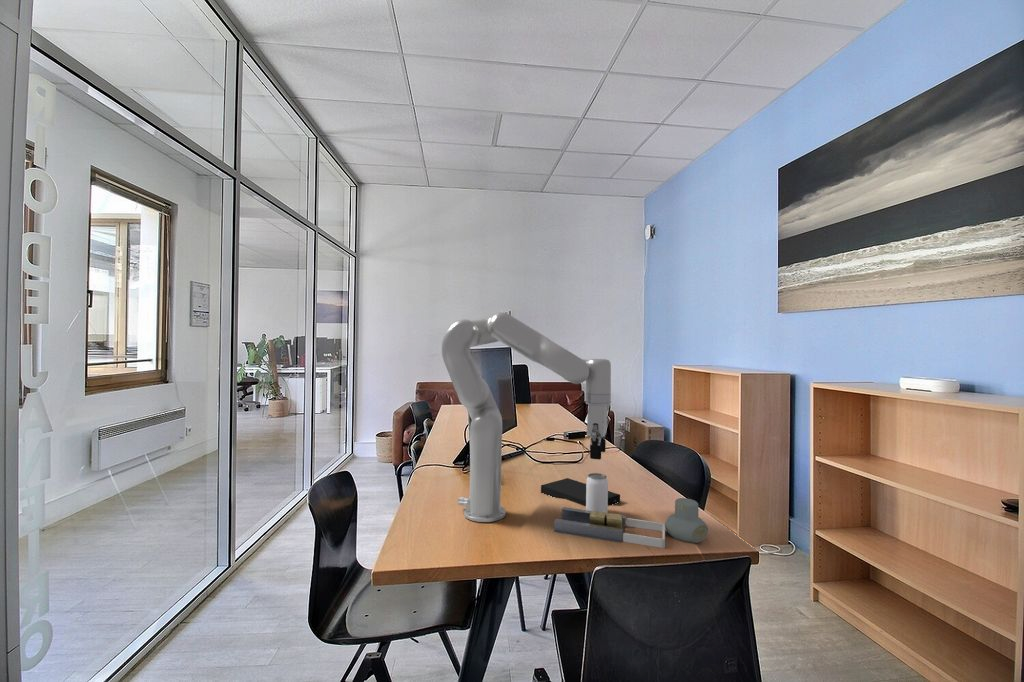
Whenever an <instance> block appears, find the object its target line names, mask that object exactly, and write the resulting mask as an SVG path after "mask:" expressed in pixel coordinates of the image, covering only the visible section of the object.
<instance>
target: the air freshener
mask: <svg viewBox="0 0 1024 682" xmlns="http://www.w3.org/2000/svg"><path fill="white" fill-rule="evenodd" d="M664 523H665V531H667V534H668V535H670V536H671V537H672V538H674V539H676V540H679V541H682V542H688V543H693V544H698V543H701V542H702V541H704V540H705V539H706V538H707V536H708V535H709V527H708V524H707V523H706V522H705V521H704V520H703V518H701V517H700V516H699V503H698V502H697V501H696V500H694V499H691V498H686V497H682V498H681V497H680V498H679V497H678V498H676V499H675V501H674V514H671V515H669V516H668V517H667V518H666V520H665V522H664Z"/></svg>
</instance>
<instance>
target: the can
mask: <svg viewBox="0 0 1024 682" xmlns="http://www.w3.org/2000/svg"><path fill="white" fill-rule="evenodd" d="M585 484H586V506H585V510H588V511H598V512H605V513H609V511H608V507H609V505H608V491H609V481H608V478H607V475H605V474H604V473H603V474H602V473H598V472H597V473H596V472H593V473H589V474H588V475H587V478H586V483H585Z"/></svg>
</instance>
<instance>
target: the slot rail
mask: <svg viewBox="0 0 1024 682" xmlns="http://www.w3.org/2000/svg"><path fill="white" fill-rule="evenodd" d="M562 507H563V506H562ZM591 512H592V511H588V510H586V509H579V508H573V507H565V506H564V507H563V508H562V509H561V518H560V519H559V518H555V519H554V521H553V522H554V523H553V532H554V533H558V534H564V535H565V534H566V535H570V536H571V535H572V536H576V537H582V538H583V537H584V538H589V539H595V540H602V541H608V542H614V543H619V544H622V543H623V533H625V530H626V526H627V517H626V516H627V515H622V514H621V517H622V529H621V528H614V527H608V526H601V525H594V524H590V514H591Z"/></svg>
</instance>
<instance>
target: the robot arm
mask: <svg viewBox="0 0 1024 682" xmlns="http://www.w3.org/2000/svg"><path fill="white" fill-rule="evenodd" d="M498 342H501V343H502V344H504V345H505V346H507V347H509V348H510V349H512V350H514V351H516V352H517V353H519V354H520V355H522V356H523V357H525V358H527V359H529V360H530V361H531V362H534V363H537V364H539V365H541V366H543V367H545V368H547V369H548V370H550V371H552V372H553V373H555V374H557V375H558V376H560V377H561V378H563V379H564V380H565V381H567V382H569V383H571V384H575V385H579V384H583V383H584V382H585V404H586V405H588V408H587V419H586V423H587V424H586V437H588V438H590V443H589V459H591V460H599V461H600V460H601V459H602V453H606V446H607V445H606V441H607V440H606V434H607V432H608V431H607V429H608V406H609V405H611V404H612V403H611V400H612V399H611V398H612V396H611V395H612V388H611V387H612V386H611V385H612V384H611V381H612V364H611V361H610V360H609V359H606V358H590V359H585V358H584V359H583V358H581V357H579V356H578V355H576V354H574V353H573V352H571V351H570V350H568V349H566V348H564V347H563V346H561V345H559V344H557V343H556V342H554V341H553V340H551V339H550V338H548V337H547V336H545V335H544V334H542V333H540V332H538V331H537V330H535V329H534V328H533V327H531V326H529V325H527V324H525V323H524V322H522V321H520V320H519V319H517V318H516V317H514V316H513V315H511V314H509V313H507V312H503V311H502V312H501V311H500V312H497V313H495V314H494V315H492V316H491V317H490V316H489V317H485V318H480V319H475V320H470V319H463V318H462V319H458V320H456V321H455V322H454V323H452V324H451V326H450V327H448V329H447V330H446V331H445V333H444V336H443V339H442V342H441V354H442V355H441V356H442V359H443V363H444V365H445V368H446V370H447V373H448V375H449V378H450V381H451V383H452V385H453V388H454V390H455V393H456V395H457V399H458V401H459V402H460V404H461V405H462V406H463V407H465V408H466V410H467V413H468V415H469V417H470V419H471V422H470V424H469V425H470V427H469V445H470V447H469V449H470V450H469V454H470V455H469V496H468V497H465V496H459V497H458V499H457V500H458V501H457V502H458V503H457V504H458V506H462V507H463V506H464V507H465V508H464V511H463V515H464V516H463V517H465V518H466V519H467V520H469V521H471V522H472V521H473V522H478V523H491V522H496V521H500V520H502V519H504V518H505V516H506V514H507V513H506V509H505V508H504V507H503V506H501V505H502V503H501V502H502V496H501V495H502V451H503V449H502V448H503V447H502V446H503V445H502V444H503V442H502V441H503V417H502V414H501V412H500V409H499V408H498V405H497V403H496V400H495V398H494V396H493V393H492V391H491V389H490V387H489V385H488V383H487V381H486V380H485V379H484V378H482V377H481V375H480V373H479V371H478V368H477V366H476V363H475V361H474V359H473V357H472V354H471V348H473V347H477V346H482V345H487V344H493V343H498Z"/></svg>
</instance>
